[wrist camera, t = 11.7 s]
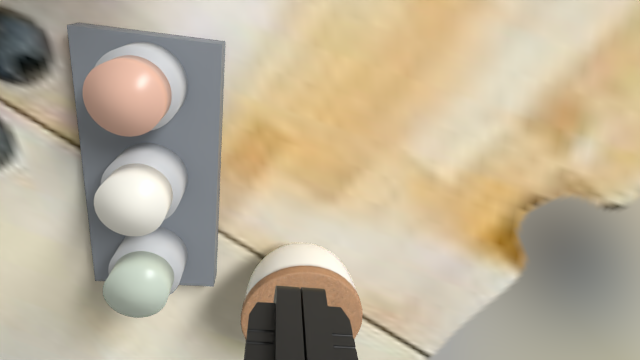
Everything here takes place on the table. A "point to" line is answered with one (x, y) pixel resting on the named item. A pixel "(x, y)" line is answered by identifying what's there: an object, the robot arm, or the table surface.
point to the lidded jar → (303, 280)
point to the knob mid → (133, 200)
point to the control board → (174, 134)
